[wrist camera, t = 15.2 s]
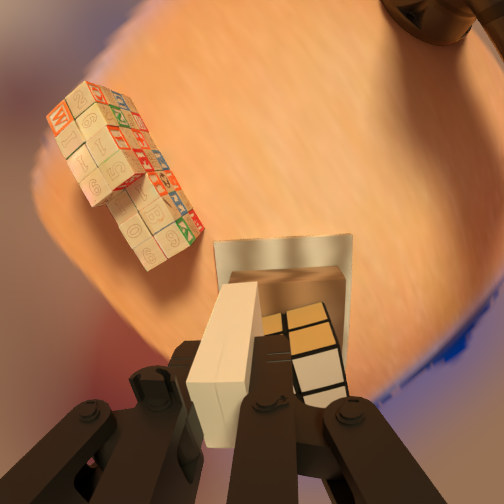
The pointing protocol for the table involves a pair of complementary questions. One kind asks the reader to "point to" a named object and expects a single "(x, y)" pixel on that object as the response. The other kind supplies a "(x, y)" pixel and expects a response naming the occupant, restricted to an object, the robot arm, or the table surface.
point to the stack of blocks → (124, 171)
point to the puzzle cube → (311, 353)
